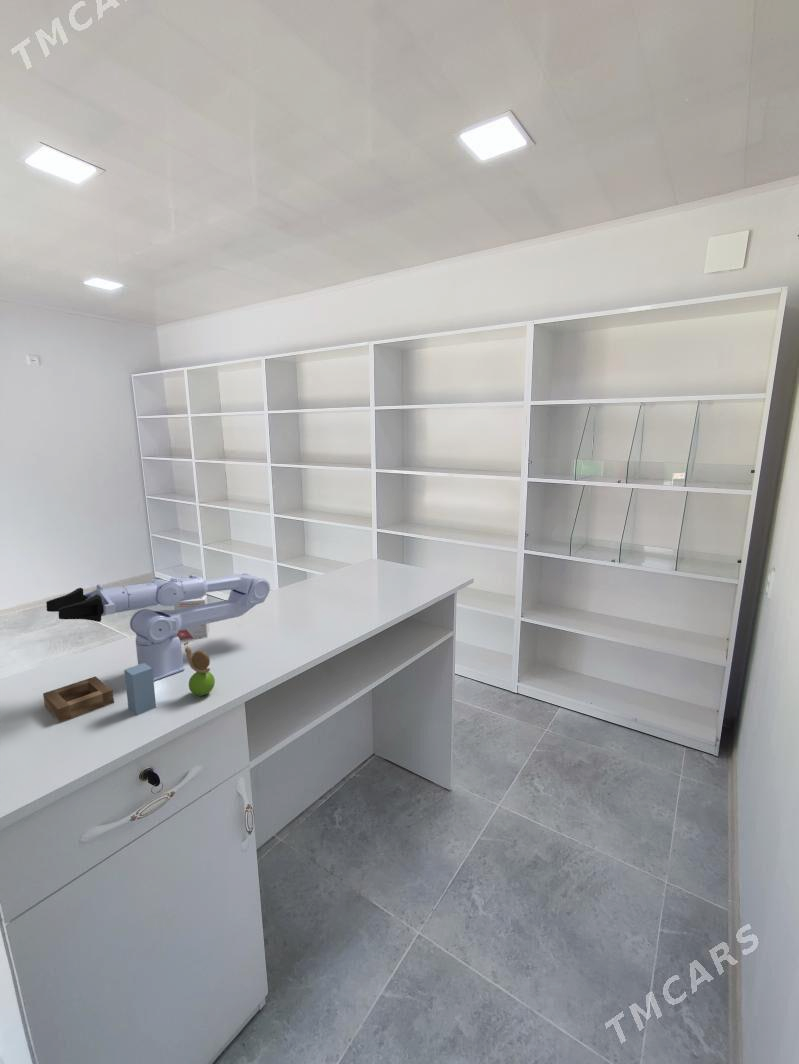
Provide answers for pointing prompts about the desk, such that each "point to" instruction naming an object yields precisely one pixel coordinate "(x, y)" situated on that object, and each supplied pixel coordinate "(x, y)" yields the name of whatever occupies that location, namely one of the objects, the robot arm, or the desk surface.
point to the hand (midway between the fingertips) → (52, 610)
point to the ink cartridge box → (196, 630)
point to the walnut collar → (78, 698)
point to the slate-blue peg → (140, 688)
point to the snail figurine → (199, 672)
